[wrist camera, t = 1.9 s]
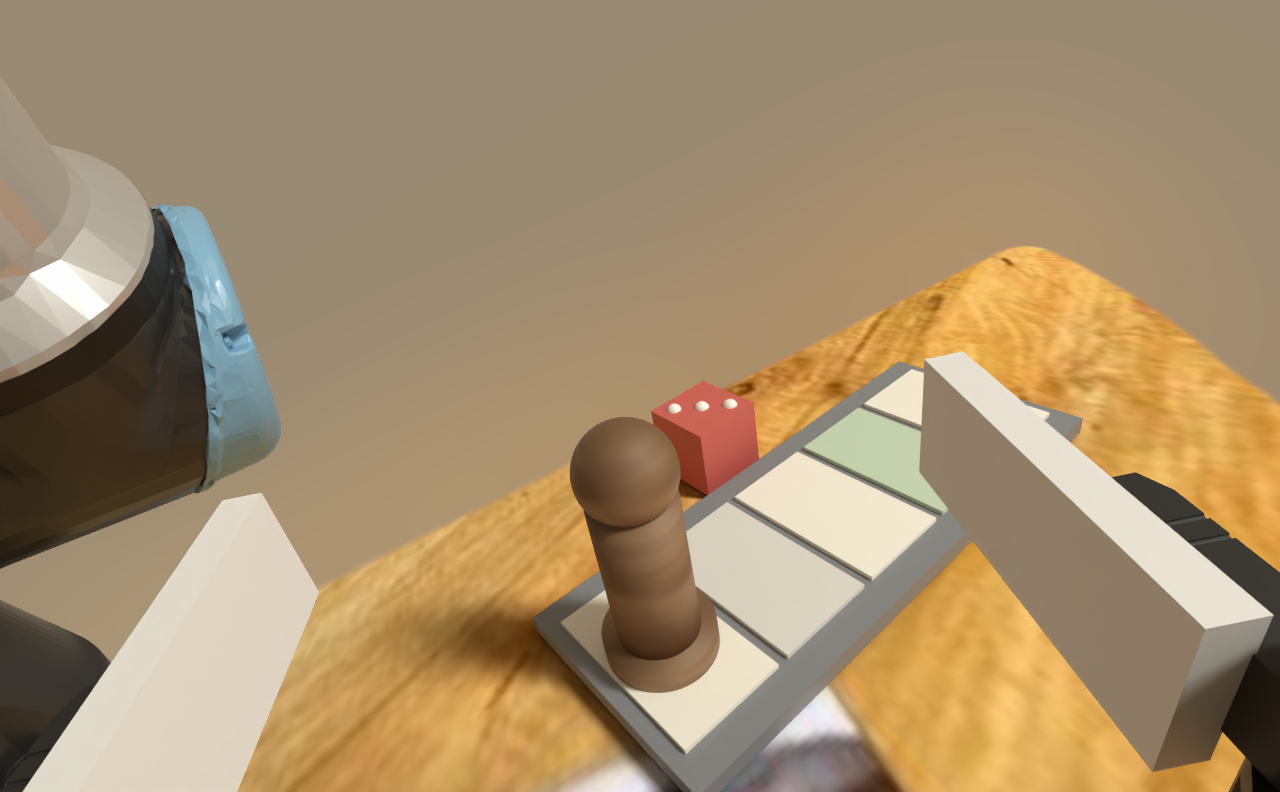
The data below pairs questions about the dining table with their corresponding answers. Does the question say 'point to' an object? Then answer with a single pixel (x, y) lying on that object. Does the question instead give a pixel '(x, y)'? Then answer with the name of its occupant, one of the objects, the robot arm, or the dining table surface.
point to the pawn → (643, 556)
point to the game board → (786, 580)
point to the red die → (709, 434)
